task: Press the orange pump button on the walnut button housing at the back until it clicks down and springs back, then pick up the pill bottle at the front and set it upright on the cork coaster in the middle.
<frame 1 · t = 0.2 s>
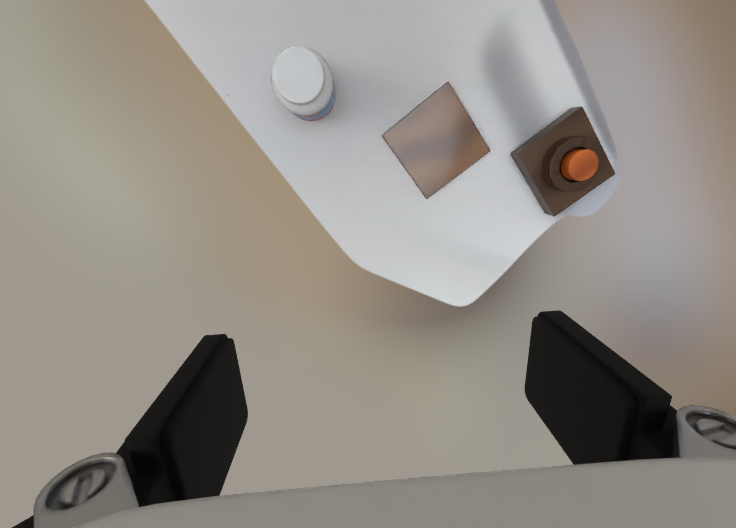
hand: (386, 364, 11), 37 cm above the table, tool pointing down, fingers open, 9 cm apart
button housing: (557, 163, 46), on the table
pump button: (579, 165, 41), point 4 cm above the table, slide at 0.1 cm
coaster: (436, 143, 44), on the table
pill bottle: (310, 93, 42), on the table
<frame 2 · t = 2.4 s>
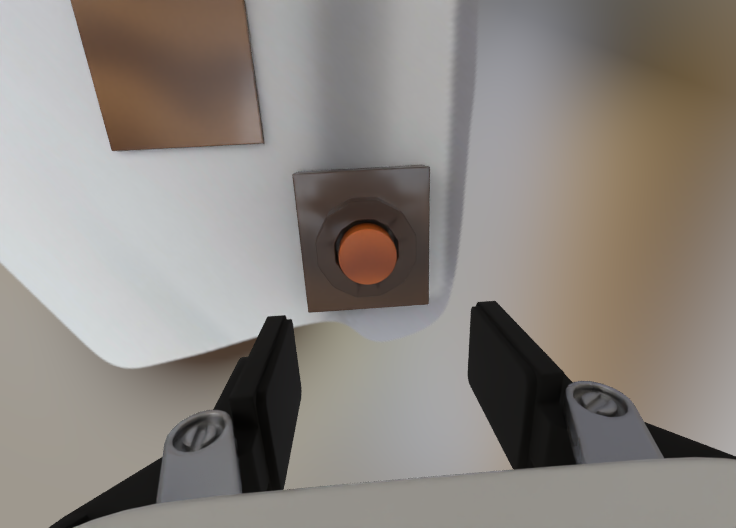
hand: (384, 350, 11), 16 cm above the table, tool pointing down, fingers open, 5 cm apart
button housing: (364, 236, 26), on the table
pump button: (367, 253, 22), point 4 cm above the table, slide at 0.1 cm
coaster: (173, 64, 22), on the table
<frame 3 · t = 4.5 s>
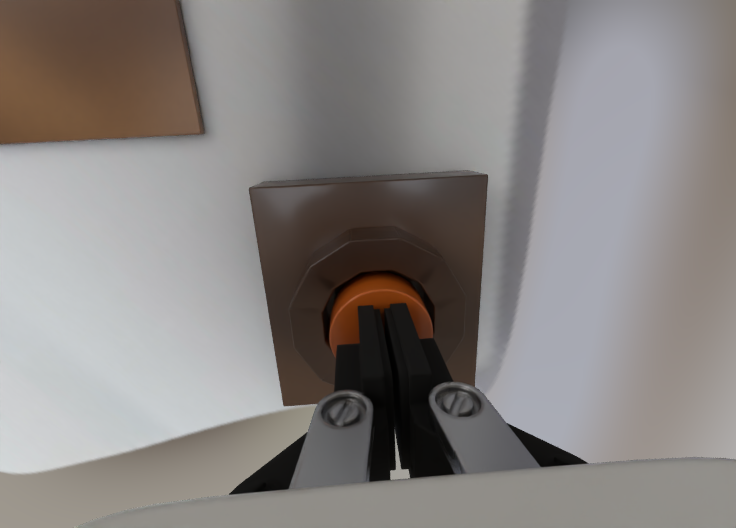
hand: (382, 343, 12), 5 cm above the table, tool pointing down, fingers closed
button housing: (372, 282, 17), on the table
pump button: (379, 325, 13), point 4 cm above the table, slide at -0.2 cm, touching gripper
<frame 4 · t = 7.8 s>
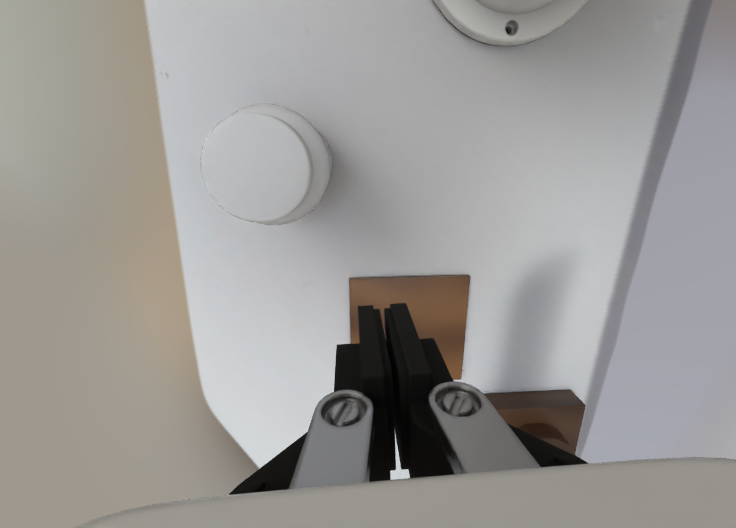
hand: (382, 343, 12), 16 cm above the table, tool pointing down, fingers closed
button housing: (518, 434, 34), on the table
coaster: (407, 330, 30), on the table
pill bottle: (292, 164, 26), on the table
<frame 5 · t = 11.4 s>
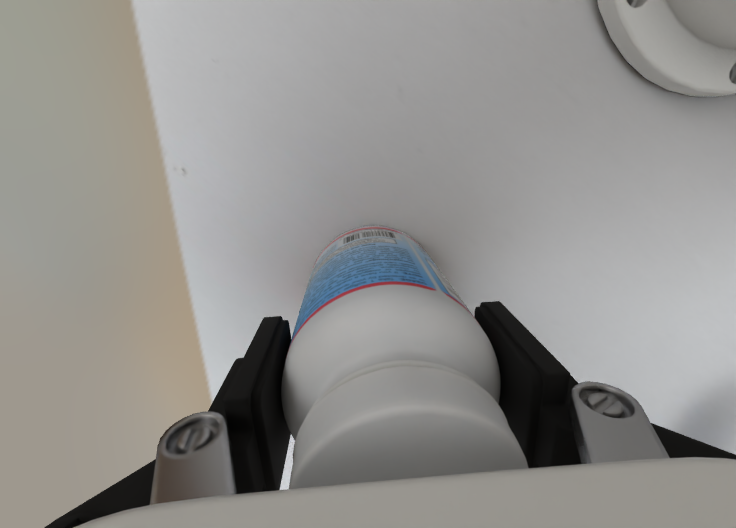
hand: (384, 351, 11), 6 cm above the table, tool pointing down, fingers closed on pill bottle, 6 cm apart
pill bottle: (372, 282, 17), on the table, touching gripper
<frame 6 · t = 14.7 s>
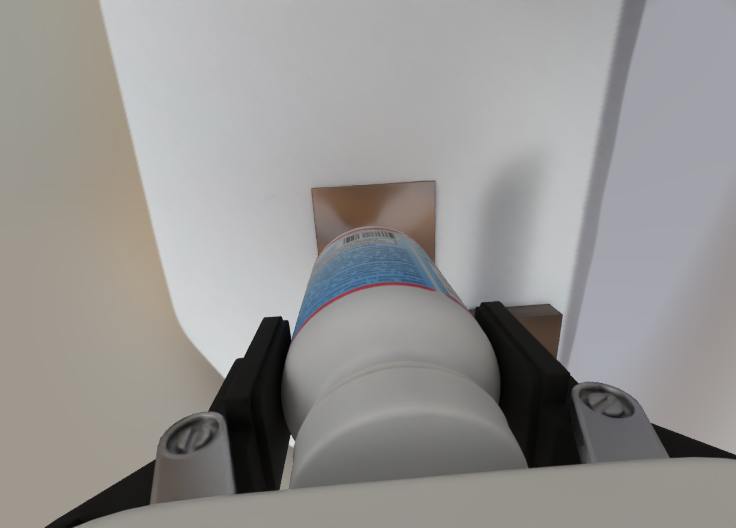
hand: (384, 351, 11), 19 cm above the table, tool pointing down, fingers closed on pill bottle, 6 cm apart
button housing: (498, 353, 34), on the table
coaster: (376, 243, 30), on the table
pill bottle: (372, 282, 17), point 13 cm above the table, touching gripper
when the fingers open (6 cm above the table, at t = 18.0 s): pill bottle stays where it is, resting on coaster.
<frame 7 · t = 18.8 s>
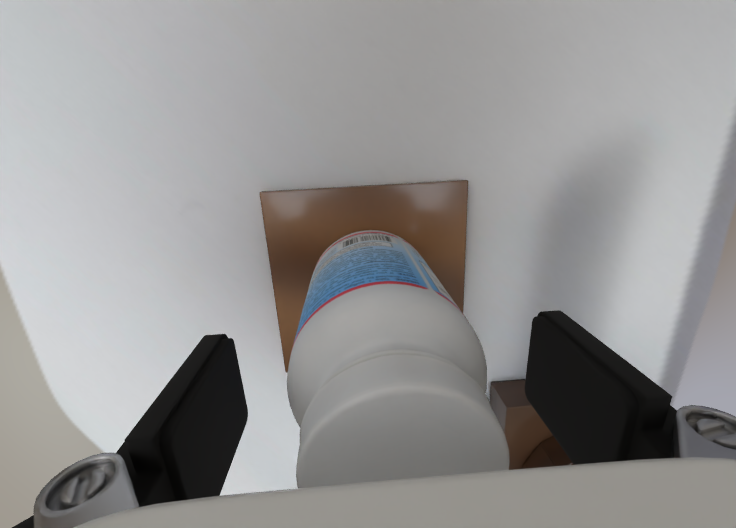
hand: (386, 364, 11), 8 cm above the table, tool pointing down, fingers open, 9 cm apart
button housing: (554, 441, 23), on the table
coaster: (369, 281, 18), on the table
pill bottle: (370, 283, 18), resting on coaster
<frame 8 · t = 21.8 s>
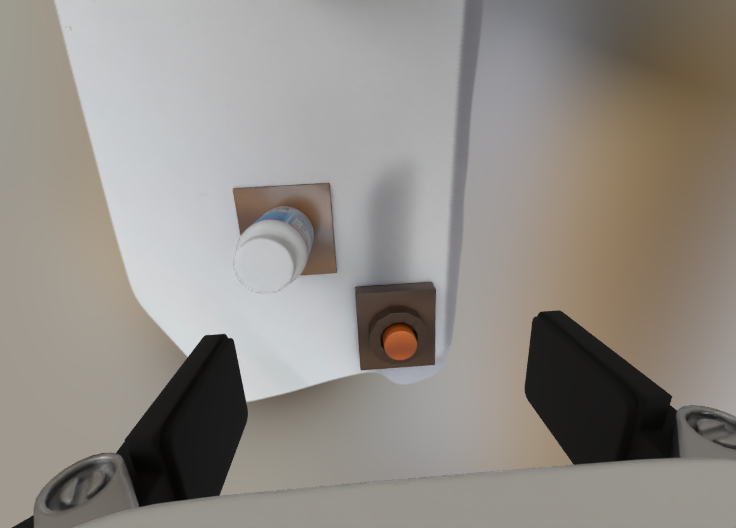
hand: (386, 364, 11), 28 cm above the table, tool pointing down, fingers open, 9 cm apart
button housing: (394, 322, 42), on the table
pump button: (399, 341, 38), point 4 cm above the table, slide at 0.1 cm
coaster: (287, 232, 38), on the table
pill bottle: (287, 232, 38), resting on coaster
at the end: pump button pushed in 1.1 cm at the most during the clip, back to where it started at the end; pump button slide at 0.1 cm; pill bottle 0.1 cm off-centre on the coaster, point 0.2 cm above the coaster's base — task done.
